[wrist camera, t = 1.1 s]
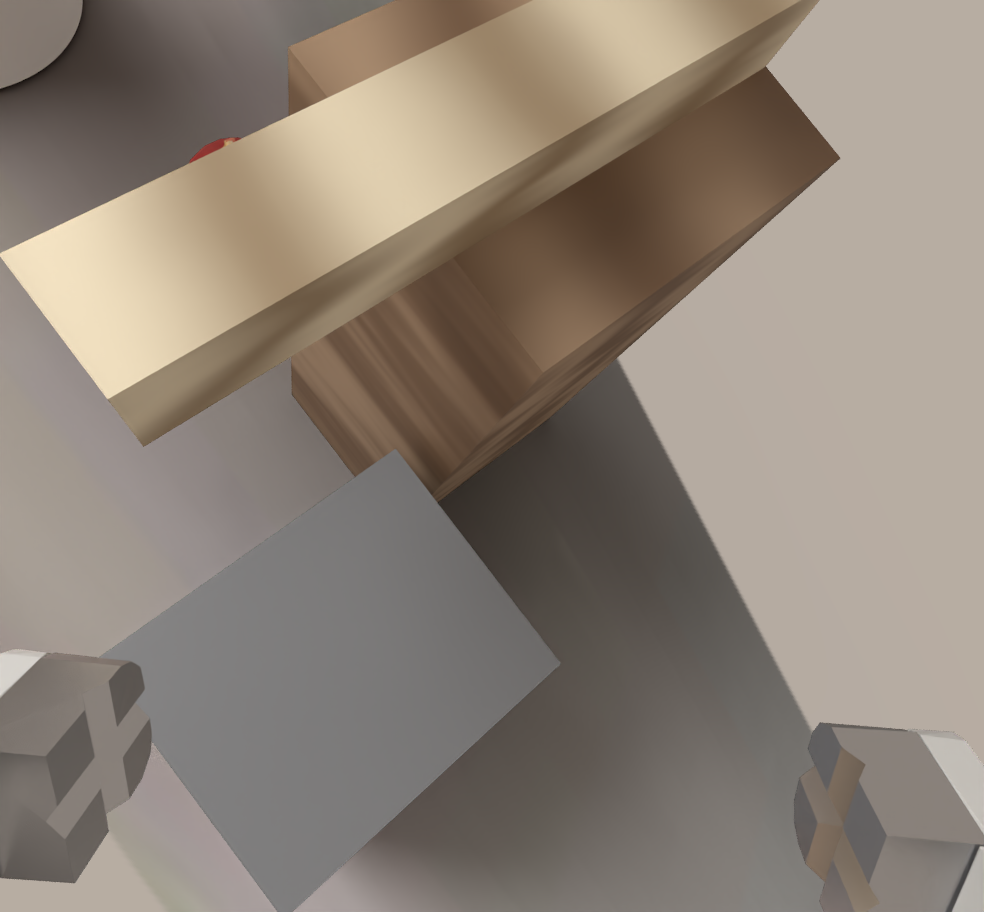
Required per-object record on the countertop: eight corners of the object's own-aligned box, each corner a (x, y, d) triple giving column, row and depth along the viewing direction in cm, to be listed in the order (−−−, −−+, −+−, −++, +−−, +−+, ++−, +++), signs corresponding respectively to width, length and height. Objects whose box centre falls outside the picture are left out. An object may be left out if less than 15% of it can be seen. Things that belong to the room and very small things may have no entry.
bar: (143, 446, 15) (107, 399, 12) (54, 329, 15) (-2, 254, 12) (765, 66, 22) (835, -20, 19) (701, -11, 22) (762, -109, 19)
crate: (287, 815, 37) (283, 919, 23) (169, 655, 37) (93, 661, 23) (469, 657, 41) (560, 663, 27) (361, 515, 41) (395, 448, 27)
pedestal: (397, 532, 42) (542, 372, 17) (291, 394, 42) (287, 46, 18) (550, 417, 46) (840, 158, 21) (452, 292, 46) (628, -102, 22)
